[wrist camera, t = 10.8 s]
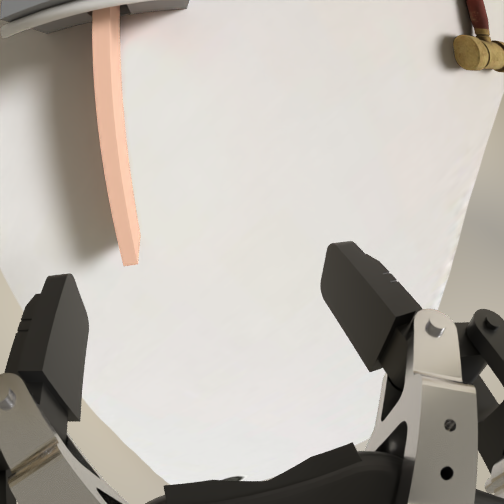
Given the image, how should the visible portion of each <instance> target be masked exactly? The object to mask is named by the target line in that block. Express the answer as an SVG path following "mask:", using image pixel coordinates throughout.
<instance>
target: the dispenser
mask: <svg viewBox="0 0 504 504" xmlns="http://www.w3.org/2000/svg"><path fill="white" fill-rule="evenodd" d="M188 3H189V0H2V1H1V13H0V19H1V20H5V21H8V22H10V23H7V24H5V25H3V26H2V27H1V29H0V34H1V37H2V38H3V39H4V38H7V37H9V36H12V35H14V34H17V33H19V32H22V31H25V30H28V29H30V28H32V29H35V30H38V31H41V32H44V33H50V32H54V31H57V30H61V29H64V28H68V27H72V26H76V25H80V24H84V23H88V22H92V12H93V10H98V9H103V8H108V7H113V6H119V5H120V16H123V15H130V14H137V13H144V12H152V11H162V10H173V9H187V6H188Z"/></svg>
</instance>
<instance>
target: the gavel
mask: <svg viewBox="0 0 504 504" xmlns="http://www.w3.org/2000/svg"><path fill="white" fill-rule="evenodd" d="M466 3H467V7H468V11H469V15H470V19H471V22H472V24H473V27H474V30H475V34H476V35H477V36H476V37H474V36H469V35H459V36H457V37H456V38H455V40H454V43H453V46H454V54H455V59H456V61H457V63H458V64H459V65H460V66H461V67H462V68H464V69H466V70H482V69H494V70H495V71H498V72H504V43H503V42H499V41H491V38H490V37H489V35H490V34H489V25H488V18H487V14H486V10H485V6H484V2H483V0H466Z"/></svg>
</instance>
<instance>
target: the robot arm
mask: <svg viewBox="0 0 504 504" xmlns="http://www.w3.org/2000/svg"><path fill="white" fill-rule="evenodd" d="M321 293H322V296H323V299H324V301H325V302H326V304H327V305H328V307H329V308H330V310H331V311H332V313H333V315H334V316H335V318H336V319H337V321H338V322H339V324H340V325H341V327H342V329H343V330H344V332H345V333H346V335H347V337H348V338H349V340H350V341H351V343H352V344H353V346H354V348H355V349H356V351H357V352H358V354H359V356H360V357H361V359H362V360H363V362H364V364H365V365H366V367H367V369H368V370H369V372H372V371H375V370H378V369H381V368H384V370H385V372H386V373H385V375H384V377H383V381H382V388H381V394H380V400H379V406H378V412H377V417H376V422H375V427H374V430H373V432H372V435H371V437H370V439H369V441H368V443H367V446H366V449H365V451H357V450H356V448H355V446H354V444H353V442H352V443H350V444H347V445H345V446H342V447H339V448H336V449H333V450H331V451H328V452H325V453H322V454H319V455H316V456H312V457H310V458H308V459H307V460H305V461H303V462H302V463H300V464H298V465H296V466H295V467H293V468H291V469H289V470H287V471H286V472H284V473H282V474H280V475H278V476H276V477H274V478H273V479H270V480H268V481H223V480H209V481H202V482H194V483H186V484H176V485H165V486H164V491H165V495H163V496H161V497H158V498H155V499H153V500H151V501H149V502H147V503H146V504H504V400H503V402H502V403H501V404H500V405H499V404H498V403H497V401H496V400H495V398H494V396H493V395H492V393H491V392H490V390H489V389H488V387H487V386H486V384H485V383H484V382H483V380H482V379H481V377H480V376H479V374H480V373H481V372H482V371H483V369H484V368H485V367H486V365H487V364H488V365H489V366H490V368H491V369H492V371H493V372H494V373H495V375H496V376H497V378H498V379H499V380H500V382H501V383H502V385H503V387H504V320H503V319H502V318H501V317H500V316H499V315H498V314H496V313H494V312H492V311H490V310H487V309H480V310H477V311H476V312H475V314H474V315H473V317H472V319H471V321H470V322H469V323H468V322H467V323H454V322H453V321H452V320H451V318H449V317H448V316H447V315H446V314H444V313H442V312H440V311H438V310H435V309H422V308H421V306H420V305H419V304H418V303H417V302H416V301H415V300H414V298H413V297H412V296H411V295H410V294H409V293H408V292H407V291H406V290H405V288H404V287H403V286H402V285H401V284H400V283H399V282H397V281H396V279H395V277H394V276H393V275H392V274H389V271H388V270H387V269H386V268H385V267H384V266H383V265H382V264H381V263H380V262H379V261H378V260H376V259H374V258H373V257H371V256H369V255H368V254H365V253H364V252H363V251H362V250H361V249H360V248H359V247H358V246H357V245H356V244H355V243H354V242H352V241H348V242H340V243H332V244H330V245H329V246H328V248H327V252H326V258H325V263H324V268H323V273H322V278H321ZM88 333H89V322H88V316H87V312H86V310H85V307H84V304H83V302H82V299H81V296H80V294H79V291H78V288H77V285H76V282H75V279H74V277H73V275H72V274H61V275H53V276H48V277H47V279H46V281H45V284H44V286H43V289H42V292H41V294H35V296H34V297H33V298H32V299H31V300H30V302H29V303H28V304H27V305H26V307H25V310H24V313H23V315H22V318H21V322H20V324H19V327H18V333H16V336H15V339H14V342H13V345H12V348H11V352H10V355H9V358H8V362H7V366H6V369H5V373H3V374H0V504H16V500H17V502H18V503H19V504H129V503H128V502H127V501H126V500H125V499H124V498H123V497H122V496H121V495H119V493H118V492H116V491H115V490H114V489H113V488H112V487H111V486H110V485H109V484H108V483H107V482H106V481H105V480H104V479H103V478H102V476H101V475H100V474H99V473H98V472H97V470H96V469H95V468H94V467H93V466H92V465H91V463H90V462H89V461H88V459H87V458H86V457H85V456H84V454H83V453H82V452H81V450H80V449H79V448H78V447H77V445H76V444H75V442H73V440H72V438H71V437H70V436H69V434H68V433H67V421H80V414H81V398H82V385H83V374H84V364H85V356H86V348H87V340H88ZM478 451H479V453H480V454H481V456H482V458H483V460H484V462H485V464H486V466H487V468H488V469H489V471H490V473H491V477H490V478H489V479H488V480H487V481H486V483H485V489H486V491H487V492H488V493H486V492H483V491H480V490H477V489H476V477H477V459H478ZM489 493H495V494H494V495H492V494H489Z"/></svg>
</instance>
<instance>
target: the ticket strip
mask: <svg viewBox="0 0 504 504" xmlns="http://www.w3.org/2000/svg"><path fill="white" fill-rule="evenodd" d="M92 48H93V74H94V89H95V102H96V113H97V123H98V131H99V140H100V147H101V154H102V161H103V168H104V174H105V180H106V186H107V192H108V197H109V202H110V208H111V213H112V218H113V222H114V227H115V232H116V236H117V241H118V245H119V249H120V253H121V257H122V261H123V265H124V266H129V265H136V264H138V258H139V246H140V229H139V224H138V218H137V213H136V207H135V200H134V194H133V187H132V181H131V174H130V166H129V158H128V150H127V141H126V132H125V122H124V111H123V98H122V82H121V62H120V5H119V6H113V7H108V8H103V9H98V10H93V12H92Z"/></svg>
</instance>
